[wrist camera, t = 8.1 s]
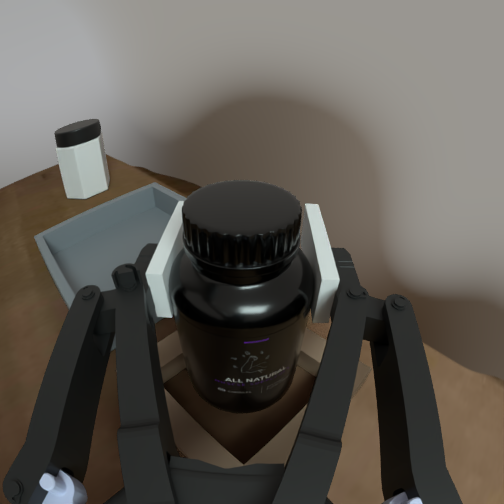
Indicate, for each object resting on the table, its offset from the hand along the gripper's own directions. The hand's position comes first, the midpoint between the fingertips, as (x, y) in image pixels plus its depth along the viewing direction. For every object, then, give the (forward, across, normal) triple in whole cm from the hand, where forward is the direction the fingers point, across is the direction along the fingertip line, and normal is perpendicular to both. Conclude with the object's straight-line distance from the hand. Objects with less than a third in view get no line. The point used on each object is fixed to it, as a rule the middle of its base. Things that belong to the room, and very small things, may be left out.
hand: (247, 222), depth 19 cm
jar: (+30, -30, -12) cm, 43 cm away
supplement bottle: (-5, 0, -8) cm, 10 cm away
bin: (+9, -13, -11) cm, 19 cm away
